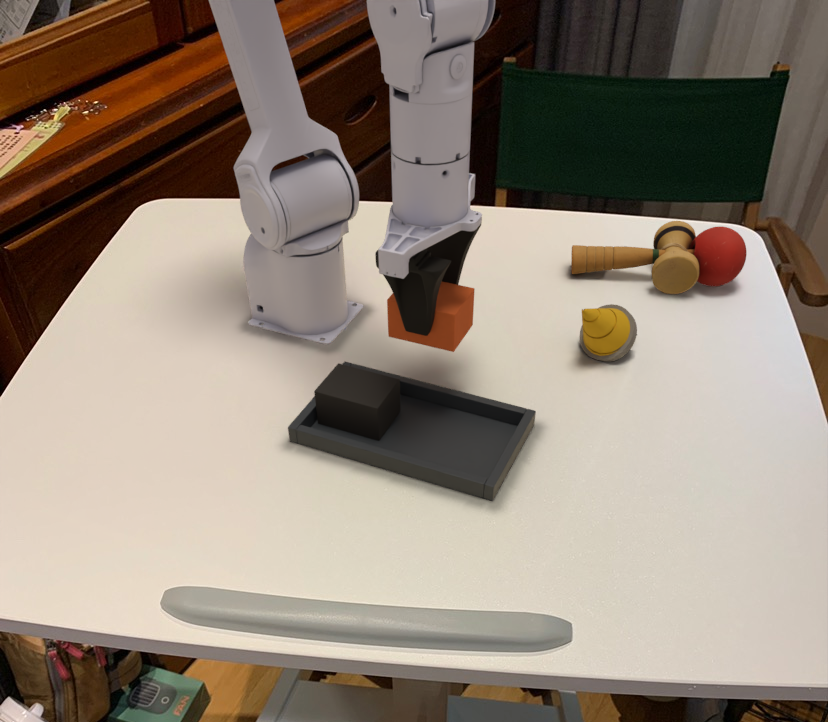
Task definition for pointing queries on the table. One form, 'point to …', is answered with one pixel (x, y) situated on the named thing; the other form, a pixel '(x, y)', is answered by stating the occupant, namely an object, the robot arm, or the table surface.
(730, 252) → the kendama
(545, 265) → the table surface
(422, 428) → the tray
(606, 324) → the spiral yellow cone
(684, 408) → the table surface
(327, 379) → the black block
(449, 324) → the orange block
